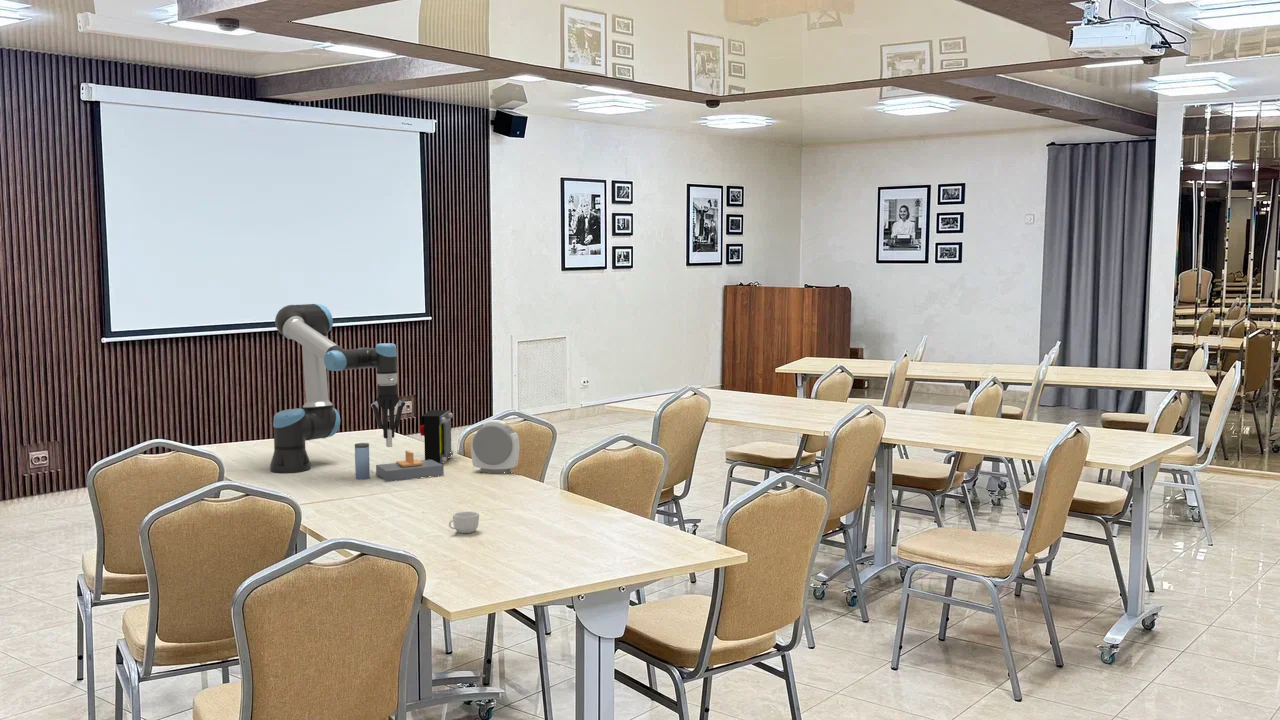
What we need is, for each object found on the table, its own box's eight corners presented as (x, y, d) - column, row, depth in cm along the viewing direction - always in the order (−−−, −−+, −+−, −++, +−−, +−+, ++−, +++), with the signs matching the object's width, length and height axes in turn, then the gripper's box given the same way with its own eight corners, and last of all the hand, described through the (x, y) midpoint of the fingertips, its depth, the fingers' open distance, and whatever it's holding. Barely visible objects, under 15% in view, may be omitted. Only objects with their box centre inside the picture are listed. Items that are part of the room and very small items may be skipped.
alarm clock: (520, 470, 410) (520, 419, 408) (514, 474, 402) (513, 422, 400) (477, 469, 413) (476, 418, 411) (469, 473, 405) (469, 421, 403)
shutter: (396, 463, 401) (395, 451, 401) (416, 461, 405) (416, 449, 405) (402, 467, 395) (402, 454, 394) (423, 465, 399) (422, 452, 398)
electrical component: (445, 465, 421) (444, 416, 419) (420, 465, 421) (419, 416, 419) (454, 457, 438) (453, 410, 437) (429, 457, 439) (429, 410, 437)
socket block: (376, 475, 401) (375, 464, 401) (431, 469, 412) (431, 459, 412) (386, 481, 389) (386, 470, 389) (443, 475, 400) (443, 465, 400)
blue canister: (354, 477, 396) (353, 443, 395) (367, 476, 399) (366, 442, 398) (357, 480, 392) (356, 445, 391) (371, 478, 394) (370, 444, 393)
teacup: (469, 527, 321) (469, 510, 320) (484, 531, 315) (484, 514, 315) (441, 533, 314) (441, 515, 313) (456, 537, 308) (456, 519, 308)
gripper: (372, 386, 387) (375, 449, 389) (407, 384, 393) (409, 446, 395) (367, 384, 393) (369, 446, 395) (401, 382, 400) (403, 443, 402)
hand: (389, 446), depth 395 cm, fingers closed
